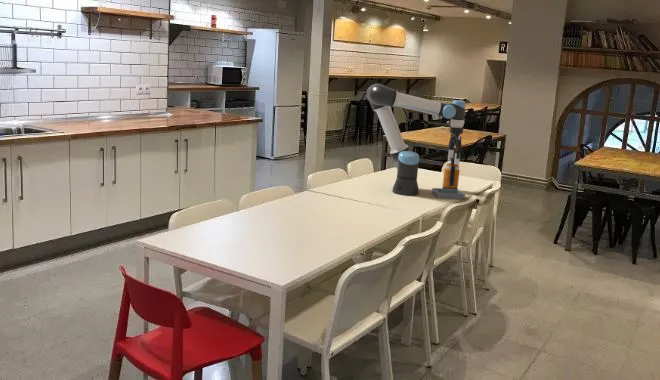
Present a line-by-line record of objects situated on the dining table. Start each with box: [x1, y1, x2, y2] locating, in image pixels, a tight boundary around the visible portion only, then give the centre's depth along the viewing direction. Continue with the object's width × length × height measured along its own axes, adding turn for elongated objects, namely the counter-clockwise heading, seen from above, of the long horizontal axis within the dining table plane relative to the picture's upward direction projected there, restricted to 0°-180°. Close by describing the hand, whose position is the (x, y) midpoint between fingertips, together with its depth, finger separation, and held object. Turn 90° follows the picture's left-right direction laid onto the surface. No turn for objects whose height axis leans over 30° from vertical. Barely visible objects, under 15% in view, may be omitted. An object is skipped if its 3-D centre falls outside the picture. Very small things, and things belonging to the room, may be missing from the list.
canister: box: [441, 157, 460, 190], centre depth 371 cm, size 9×11×20 cm
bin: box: [431, 187, 466, 200], centre depth 355 cm, size 16×14×3 cm
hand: (453, 162), depth 369 cm, fingers open, 13 cm apart
